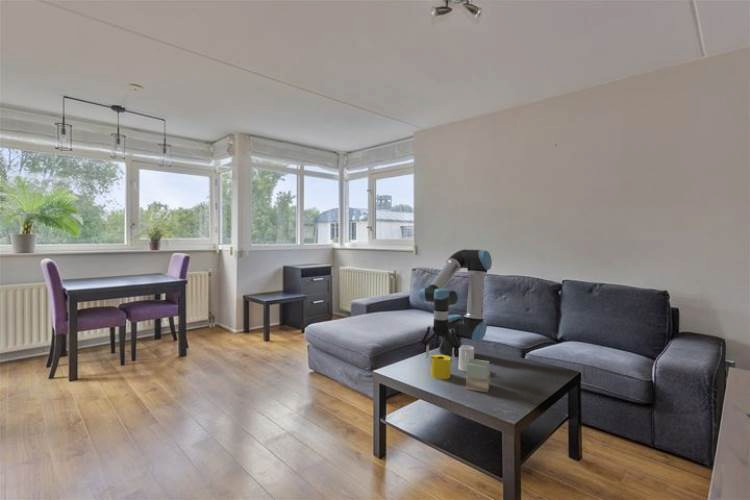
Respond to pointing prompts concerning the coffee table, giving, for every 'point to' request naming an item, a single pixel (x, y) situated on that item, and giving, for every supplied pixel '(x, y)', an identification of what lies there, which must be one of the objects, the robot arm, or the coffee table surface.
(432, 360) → the yellow hollow cylinder
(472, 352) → the mug
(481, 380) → the base block
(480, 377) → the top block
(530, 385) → the coffee table surface
